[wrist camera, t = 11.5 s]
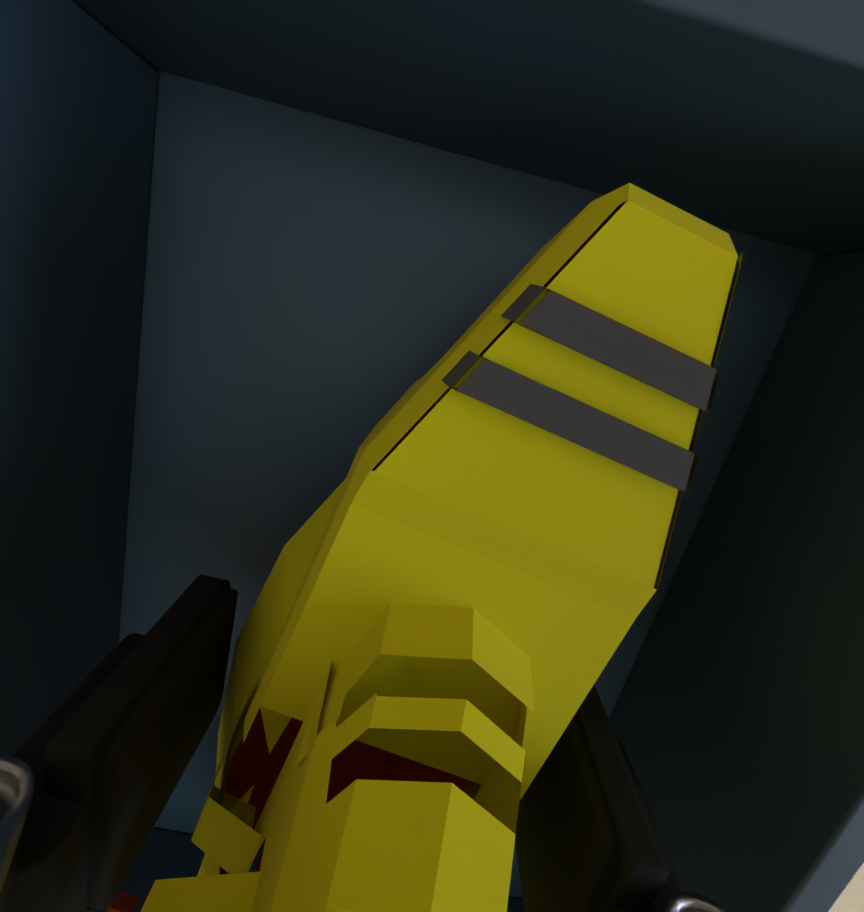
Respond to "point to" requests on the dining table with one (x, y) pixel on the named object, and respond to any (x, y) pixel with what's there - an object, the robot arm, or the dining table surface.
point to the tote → (436, 349)
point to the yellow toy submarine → (466, 584)
